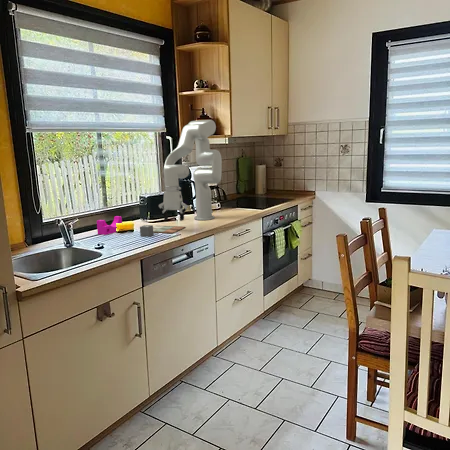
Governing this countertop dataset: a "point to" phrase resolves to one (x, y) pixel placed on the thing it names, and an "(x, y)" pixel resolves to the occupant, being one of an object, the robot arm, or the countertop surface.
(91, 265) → the countertop surface
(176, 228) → the striped panel
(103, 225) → the toy block
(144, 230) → the die
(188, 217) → the countertop surface
